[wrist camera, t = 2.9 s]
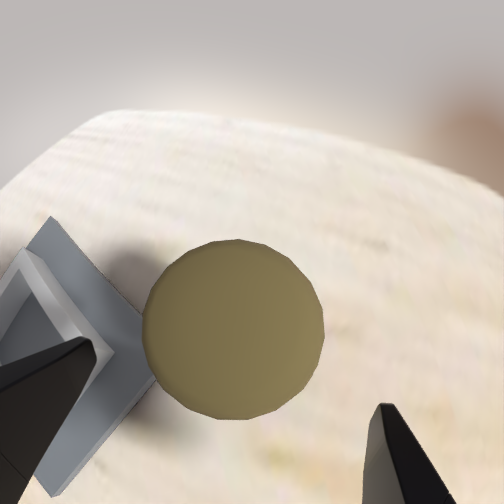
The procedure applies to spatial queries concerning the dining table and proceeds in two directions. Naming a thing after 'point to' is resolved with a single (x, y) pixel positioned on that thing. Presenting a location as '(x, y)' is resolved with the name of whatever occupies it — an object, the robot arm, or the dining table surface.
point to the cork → (232, 330)
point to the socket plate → (66, 328)
